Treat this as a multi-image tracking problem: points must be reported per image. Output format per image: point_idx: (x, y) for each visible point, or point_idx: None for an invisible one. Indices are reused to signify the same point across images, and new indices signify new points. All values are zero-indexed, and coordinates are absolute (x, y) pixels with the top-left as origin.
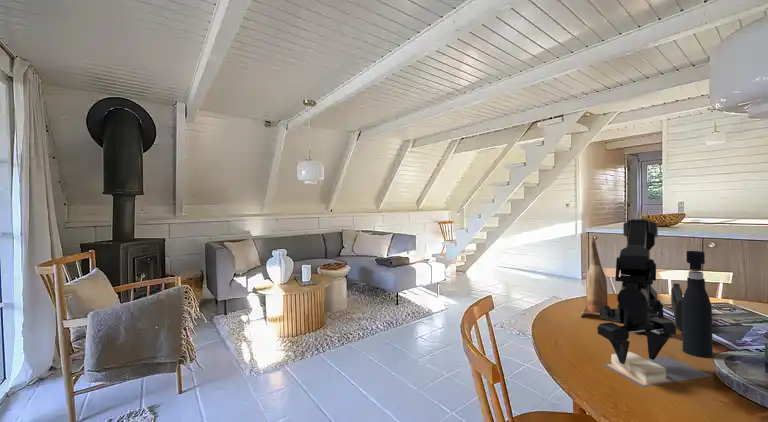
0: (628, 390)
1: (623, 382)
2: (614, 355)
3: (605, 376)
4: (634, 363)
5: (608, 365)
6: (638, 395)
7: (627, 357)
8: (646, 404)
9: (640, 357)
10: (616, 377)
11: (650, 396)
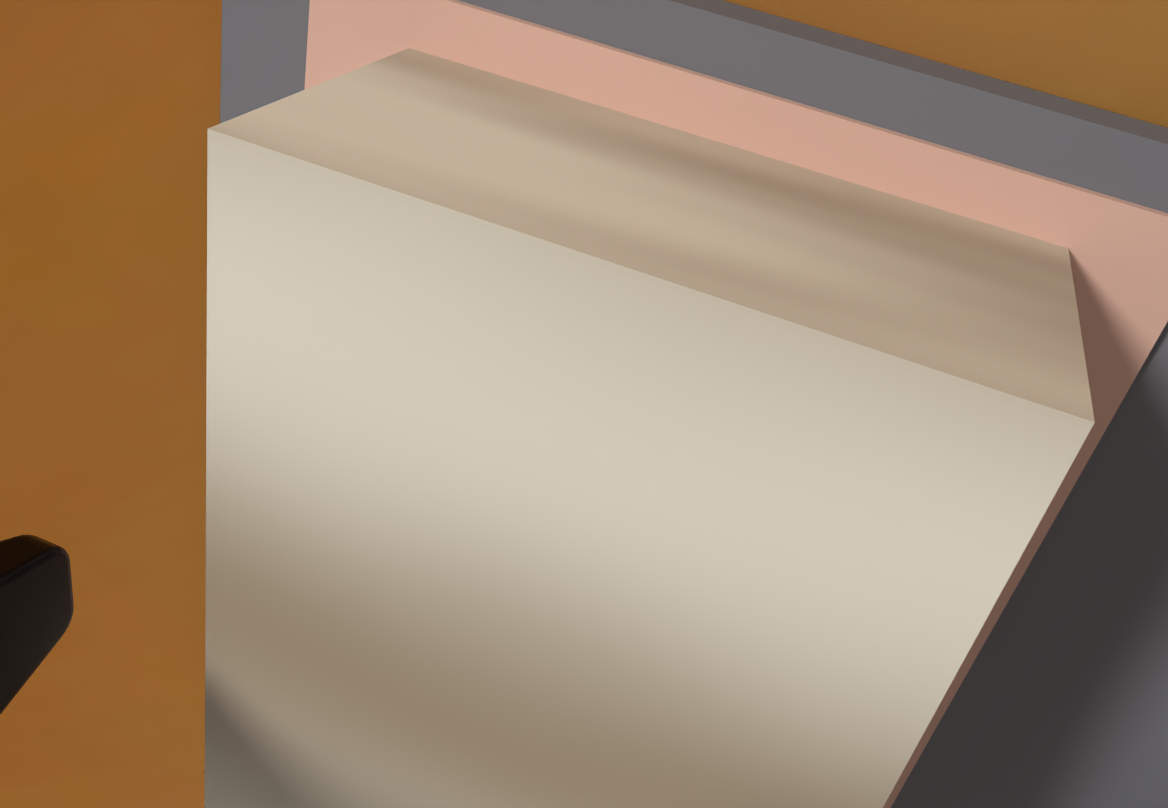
0: None
1: (152, 481)
2: (220, 253)
3: (20, 200)
4: (303, 755)
5: (309, 21)
6: (76, 707)
7: (464, 552)
8: (19, 795)
9: (814, 786)
10: (175, 338)
11: (188, 797)
